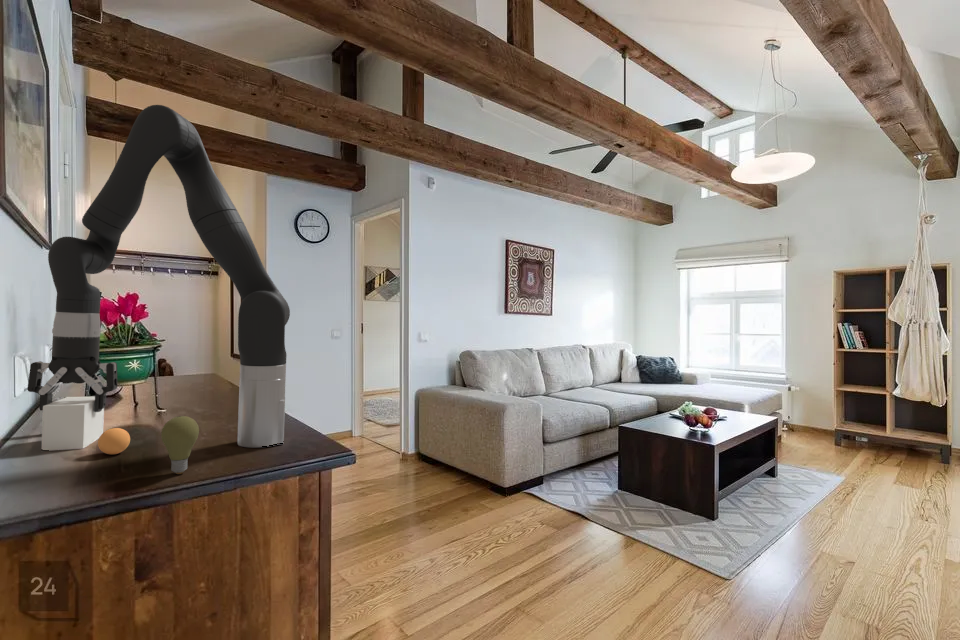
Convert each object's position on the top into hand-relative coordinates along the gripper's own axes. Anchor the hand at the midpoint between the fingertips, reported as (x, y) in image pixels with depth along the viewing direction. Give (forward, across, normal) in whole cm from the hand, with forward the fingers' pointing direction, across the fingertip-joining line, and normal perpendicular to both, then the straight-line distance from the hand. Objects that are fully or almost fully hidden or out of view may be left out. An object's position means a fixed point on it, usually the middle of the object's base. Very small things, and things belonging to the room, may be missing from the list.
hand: (72, 412), depth 98 cm
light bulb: (+6, -24, +27) cm, 37 cm away
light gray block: (+6, 0, 0) cm, 7 cm away
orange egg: (+4, -10, +11) cm, 16 cm away
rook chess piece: (+7, +6, -10) cm, 13 cm away
